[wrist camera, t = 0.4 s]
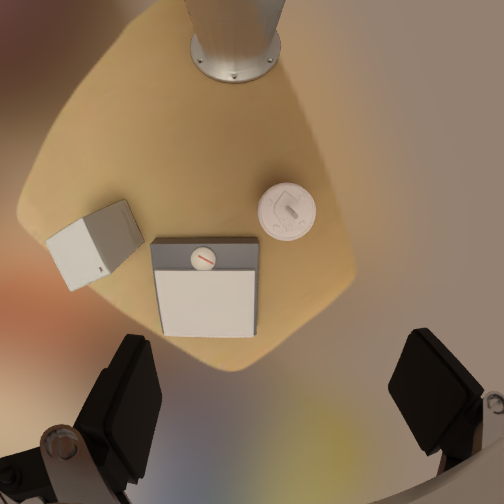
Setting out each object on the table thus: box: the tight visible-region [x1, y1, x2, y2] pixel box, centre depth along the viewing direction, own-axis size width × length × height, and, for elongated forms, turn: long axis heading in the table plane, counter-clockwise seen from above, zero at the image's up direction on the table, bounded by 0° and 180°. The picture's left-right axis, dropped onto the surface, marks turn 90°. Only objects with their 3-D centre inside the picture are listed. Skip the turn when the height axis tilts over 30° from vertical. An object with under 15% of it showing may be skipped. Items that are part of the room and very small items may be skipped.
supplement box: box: [46, 200, 144, 292], centre depth 32 cm, size 7×7×13 cm
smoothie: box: [257, 183, 316, 241], centre depth 31 cm, size 6×6×14 cm
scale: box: [150, 238, 259, 338], centre depth 40 cm, size 15×15×4 cm
